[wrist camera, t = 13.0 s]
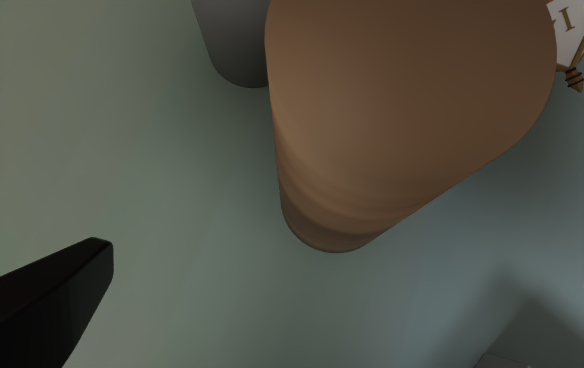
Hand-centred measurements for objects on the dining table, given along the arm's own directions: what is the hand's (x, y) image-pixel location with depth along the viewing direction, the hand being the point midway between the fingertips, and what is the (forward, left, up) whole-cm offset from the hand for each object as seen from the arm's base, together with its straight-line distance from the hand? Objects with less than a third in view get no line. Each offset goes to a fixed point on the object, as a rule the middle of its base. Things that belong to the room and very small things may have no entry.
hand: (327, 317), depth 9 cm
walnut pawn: (+4, +2, -9) cm, 10 cm away
